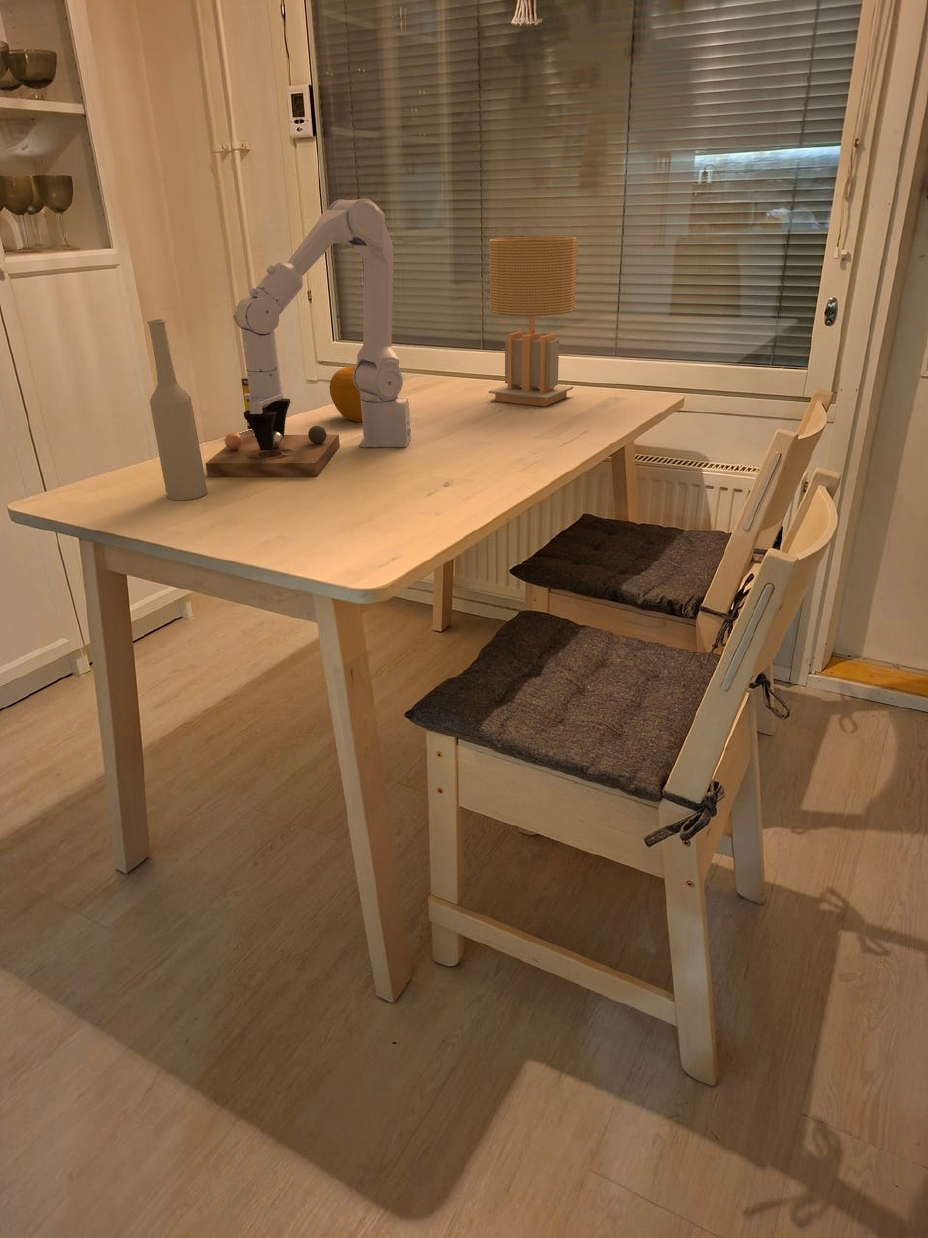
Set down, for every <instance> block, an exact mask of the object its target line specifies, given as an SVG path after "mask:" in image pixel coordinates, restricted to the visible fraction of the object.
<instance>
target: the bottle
mask: <svg viewBox="0 0 928 1238" xmlns="http://www.w3.org/2000/svg"><path fill="white" fill-rule="evenodd" d="M146 323H147V324H148V328H149V333H150V337H151V344H152V349H153V355H154V356H153V357H154V361H155V370H156V380H157V386H156V387H155V389H154V391H153V393H152V395H151V397H150V399H149V405H150V411H151V412H150V413H151V416H152V421H153V427H154V428H153V429H154V434H155V437H156V438H155V439H156V444H157V450H158V454H159V455H158V456H159V461H160V467H161V472H162V478H163V482H164V487H165V493H166V498H167V499H168V500H170V501H179V502H180V501H181V502H182V501H185V502H186V501H189V500H190V501H192V500H196V499H201V498H203V497H204V496H207V494H208V489H207V483H206V482H207V481H206V476H205V471H204V470H205V469H204V465H203V464H204V463H203V459H202V453H201V447H200V442H199V436H198V432H197V431H198V430H197V425H196V419H195V418H196V417H195V413H194V407H193V403H192V398H191V396H190V395H189V393H188V392H187V391H186V390H185V389H184V388H183V387H182V386H181V385H180V384H179V383H178V379H177V377H176V373H175V368H174V365H173V359H172V354H171V348H170V345H169V338H168V333H167V327H166V319H162V318H161V319H149V320H147V321H146ZM147 324H146V325H147Z"/></svg>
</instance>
